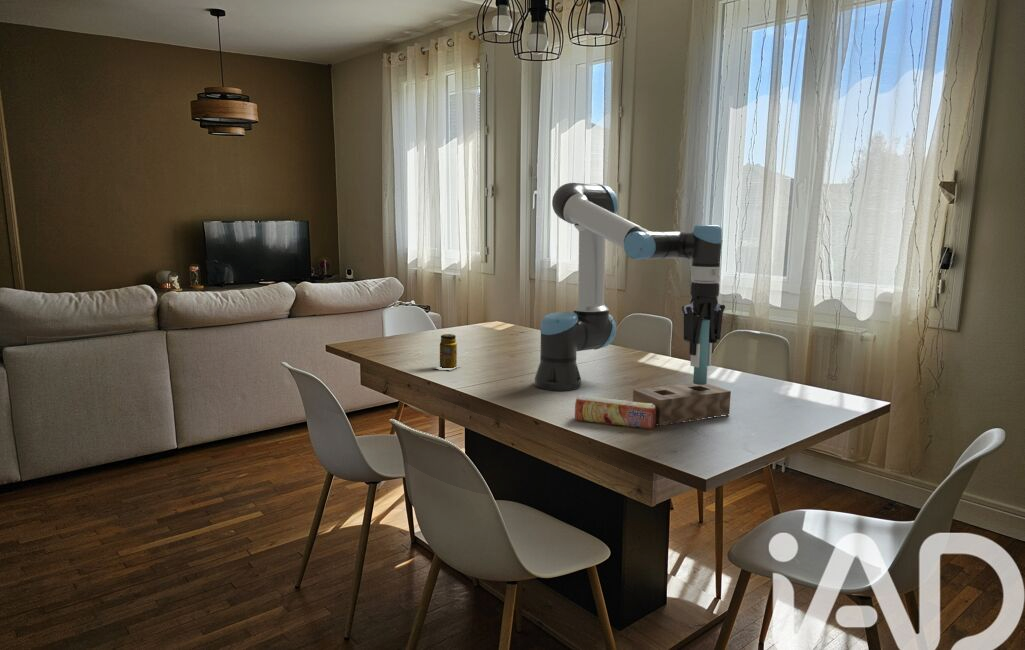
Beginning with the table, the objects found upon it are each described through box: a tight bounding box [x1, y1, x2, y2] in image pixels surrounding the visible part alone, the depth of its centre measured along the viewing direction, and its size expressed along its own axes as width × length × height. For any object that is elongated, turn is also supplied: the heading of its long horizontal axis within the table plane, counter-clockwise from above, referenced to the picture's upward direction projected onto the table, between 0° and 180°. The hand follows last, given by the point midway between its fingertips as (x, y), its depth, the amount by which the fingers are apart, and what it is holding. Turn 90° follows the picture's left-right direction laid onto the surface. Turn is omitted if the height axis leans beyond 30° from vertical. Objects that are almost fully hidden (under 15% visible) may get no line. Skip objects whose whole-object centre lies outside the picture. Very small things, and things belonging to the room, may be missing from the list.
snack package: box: [574, 394, 656, 430], centre depth 181 cm, size 21×7×7 cm, turn 70°
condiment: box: [439, 333, 458, 368], centre depth 243 cm, size 7×8×12 cm
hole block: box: [632, 382, 732, 426], centre depth 189 cm, size 24×12×7 cm, turn 116°
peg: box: [692, 319, 710, 385], centre depth 189 cm, size 4×4×18 cm
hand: (700, 365), depth 190 cm, fingers closed on peg, 3 cm apart
